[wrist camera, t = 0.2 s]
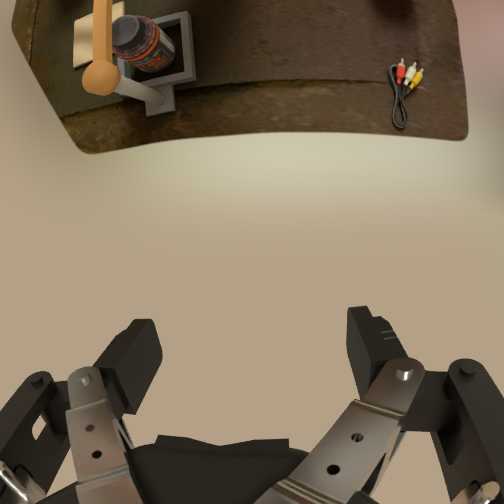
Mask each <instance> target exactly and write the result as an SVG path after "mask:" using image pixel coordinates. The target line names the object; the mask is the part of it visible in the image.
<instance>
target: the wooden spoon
mask: <svg viewBox="0 0 504 504" xmlns="http://www.w3.org/2000/svg"><path fill="white" fill-rule="evenodd" d="M92 52H93V63H91V64H90V65H89V66H88V67H87V68H86V70H85V72H84V74H83V78H82V84H83V87H84V89H85V90H86V91H87V92H89V93H93V94H97V95H102V96H104V95H108V94H110V93H112V92H113V91H114V90H115V89H116V88H117V86H118V85H119V83H120V79H121V72H120V69H119V68H118V67H117V66H116V65H114V64H112V0H94V9H93V44H92Z"/></svg>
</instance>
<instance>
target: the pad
mask: <svg viewBox="0 0 504 504" xmlns="http://www.w3.org/2000/svg"><path fill="white" fill-rule="evenodd" d="M121 16H124V2H123V1H122V2H119V3H117V4H114V5H112V23H113V22H114V21H115V20H116V19H117V18H119V17H121ZM92 44H93V13H92V14H89V15H87V16H85V17H83V18H81V19H78V20H76V21H75V25H74V68H77V67H79V66H81V65H84V64H86V63H89V62H91V61H93V52H92ZM112 54H113V51H112Z"/></svg>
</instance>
